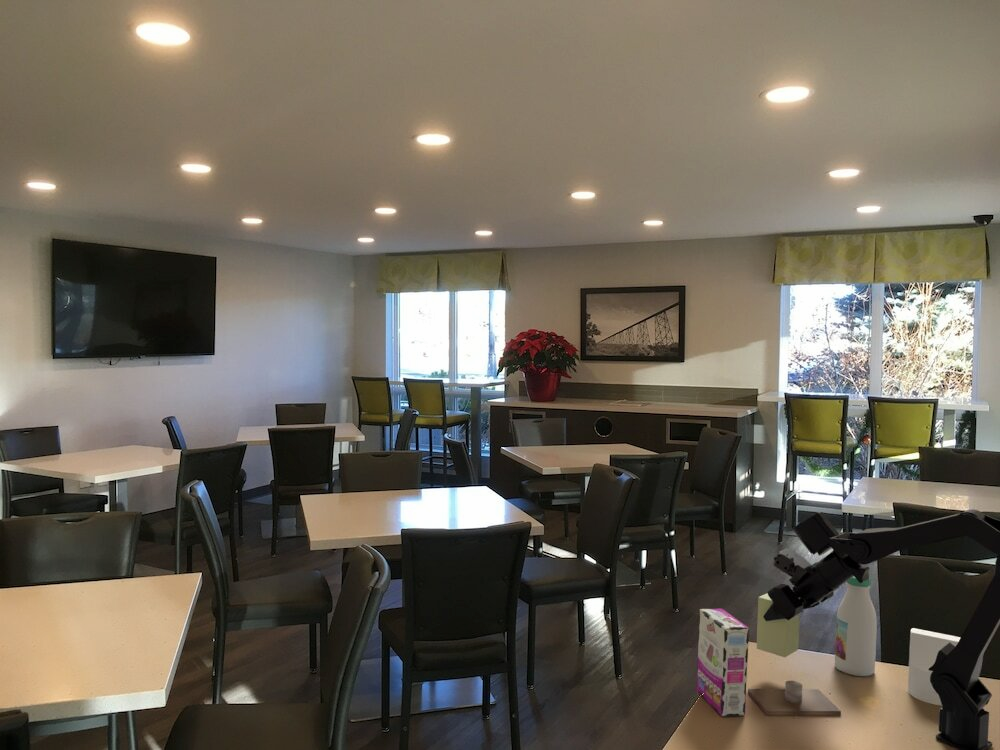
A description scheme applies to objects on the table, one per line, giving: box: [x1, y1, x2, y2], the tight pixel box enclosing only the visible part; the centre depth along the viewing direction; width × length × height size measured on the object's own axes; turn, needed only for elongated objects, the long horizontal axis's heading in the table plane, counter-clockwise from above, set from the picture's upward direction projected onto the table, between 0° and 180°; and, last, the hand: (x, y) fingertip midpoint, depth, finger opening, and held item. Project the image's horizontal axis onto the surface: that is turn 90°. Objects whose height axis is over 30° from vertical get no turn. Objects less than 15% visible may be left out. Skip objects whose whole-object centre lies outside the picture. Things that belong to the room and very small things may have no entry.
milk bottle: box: [834, 576, 878, 677], centre depth 163 cm, size 8×8×20 cm
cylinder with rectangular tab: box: [907, 627, 961, 706], centre depth 152 cm, size 9×9×12 cm
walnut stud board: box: [747, 680, 842, 716], centre depth 147 cm, size 14×9×4 cm, turn 93°
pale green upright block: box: [756, 592, 801, 658], centre depth 158 cm, size 6×6×11 cm
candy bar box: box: [696, 607, 750, 718], centre depth 146 cm, size 11×5×16 cm, turn 10°
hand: (772, 615), depth 159 cm, fingers closed on pale green upright block, 6 cm apart
